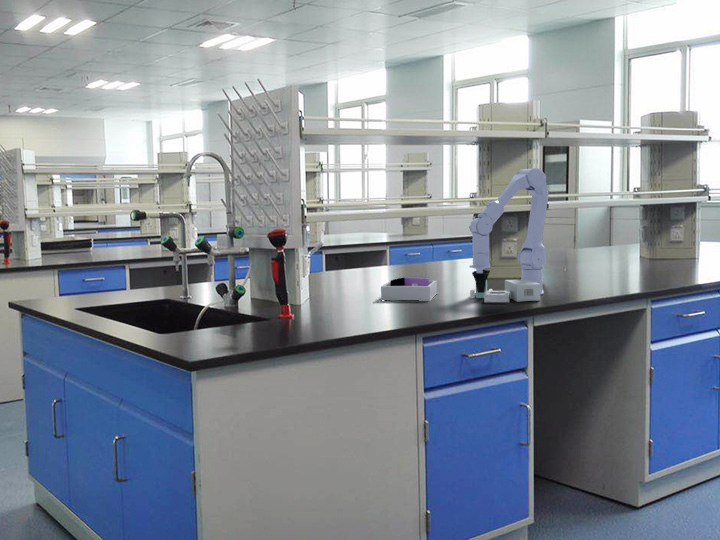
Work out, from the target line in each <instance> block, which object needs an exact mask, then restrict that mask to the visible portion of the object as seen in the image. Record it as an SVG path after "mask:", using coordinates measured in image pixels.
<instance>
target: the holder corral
mask: <svg viewBox="0 0 720 540" xmlns="http://www.w3.org/2000/svg"><path fill="white" fill-rule="evenodd" d="M390 281H391V280H389V281H388V282H386V283H384V284H383V285H381V286H380V296H381V297H380V299H381V300H419V301H418V302H431V301H433V299H434V298H435V297H436V296H437V295H438V284H437V283H438V281H437V280H429V285H428V286H417V285H414V286H390ZM436 294H437V295H436ZM435 295H436V296H435ZM434 296H435V297H434ZM433 297H434V298H433ZM432 298H433V299H432Z"/></svg>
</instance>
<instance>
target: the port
mask: <svg viewBox="0 0 720 540" xmlns="http://www.w3.org/2000/svg"><path fill="white" fill-rule="evenodd" d="M483 299H484V301H483V302H484V304H509V303H510V301H511V298H510V291H505V290H493V291H489V290H487V291H486V292H485V294H484V298H483Z"/></svg>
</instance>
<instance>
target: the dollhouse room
mask: <svg viewBox="0 0 720 540" xmlns="http://www.w3.org/2000/svg"><path fill="white" fill-rule="evenodd" d="M389 281H390V286H414V285H417V286H428V285H429V281H430V279H429V278H428V277H427V278H424V277H397V278H396V279H391V280H389Z"/></svg>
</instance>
